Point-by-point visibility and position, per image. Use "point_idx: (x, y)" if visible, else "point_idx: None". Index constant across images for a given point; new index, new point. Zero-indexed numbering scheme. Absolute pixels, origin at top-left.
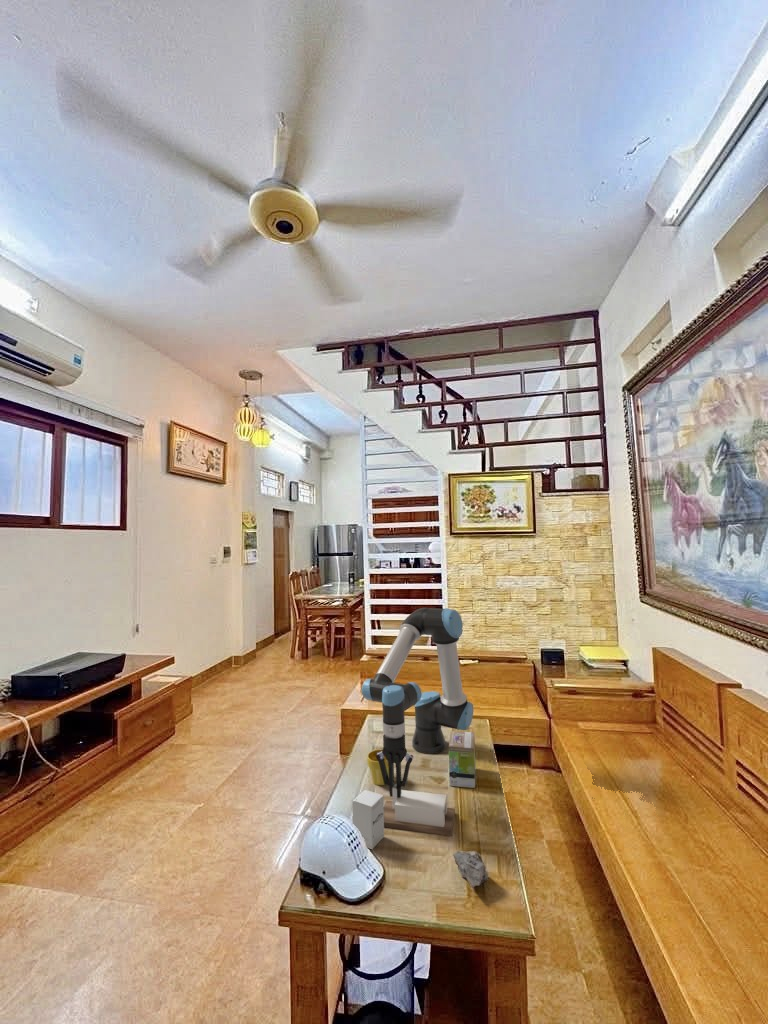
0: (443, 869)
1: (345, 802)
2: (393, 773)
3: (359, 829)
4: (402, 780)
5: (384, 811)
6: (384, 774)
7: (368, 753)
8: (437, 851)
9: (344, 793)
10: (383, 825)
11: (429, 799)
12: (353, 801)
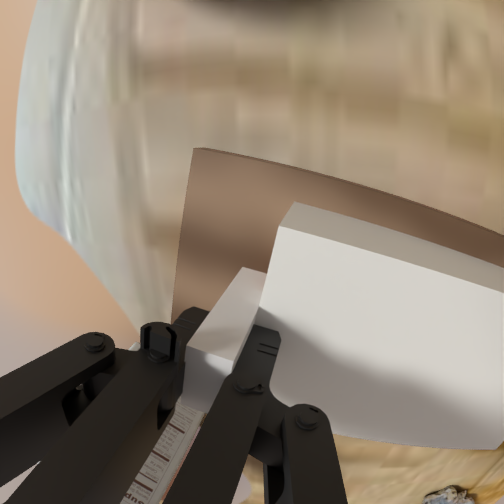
0: (391, 494)
1: (34, 144)
2: (124, 456)
3: None
4: (264, 499)
5: (191, 265)
6: (48, 445)
7: None
8: (403, 457)
9: (27, 80)
10: (198, 426)
11: (485, 375)
12: None
